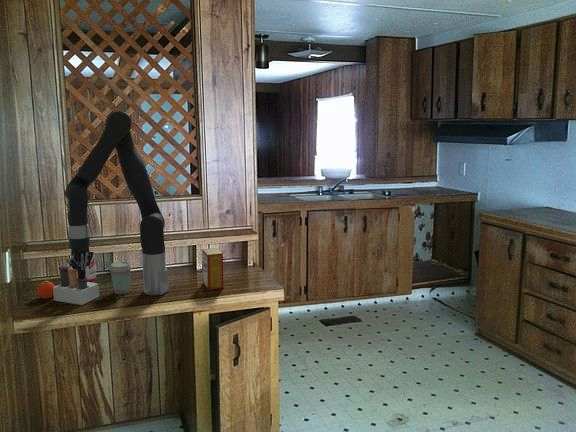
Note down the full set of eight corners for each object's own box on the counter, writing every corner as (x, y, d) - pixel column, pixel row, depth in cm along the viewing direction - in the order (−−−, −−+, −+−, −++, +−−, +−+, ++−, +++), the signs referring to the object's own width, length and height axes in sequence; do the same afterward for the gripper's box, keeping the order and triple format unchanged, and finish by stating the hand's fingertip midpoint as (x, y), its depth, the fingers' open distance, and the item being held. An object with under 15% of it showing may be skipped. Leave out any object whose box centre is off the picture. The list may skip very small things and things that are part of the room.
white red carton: (98, 279, 233) (96, 245, 229) (92, 284, 227) (89, 248, 223) (85, 279, 233) (82, 244, 230) (78, 284, 227) (75, 248, 224)
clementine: (40, 294, 214) (38, 278, 212) (58, 293, 215) (57, 277, 214) (35, 302, 206) (34, 284, 205) (54, 300, 208) (53, 283, 206)
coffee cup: (132, 294, 216) (131, 266, 213) (110, 296, 213) (109, 267, 211) (132, 287, 224) (131, 260, 221) (111, 289, 221) (109, 261, 219)
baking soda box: (202, 283, 230) (202, 248, 226) (217, 281, 232) (216, 247, 229) (208, 290, 221) (207, 254, 218) (223, 288, 224) (222, 252, 220)
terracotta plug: (81, 286, 210) (80, 267, 208) (74, 289, 206) (73, 270, 204) (73, 285, 211) (72, 266, 209) (66, 288, 207) (65, 269, 206)
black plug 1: (72, 285, 211) (71, 266, 209) (65, 288, 207) (64, 269, 206) (65, 283, 212) (63, 265, 211) (58, 286, 209) (56, 268, 207)
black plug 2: (90, 296, 209) (89, 277, 207) (84, 299, 205) (82, 280, 204) (83, 294, 210) (81, 276, 209) (76, 298, 207) (74, 279, 205)
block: (99, 296, 213) (98, 283, 212) (82, 305, 204) (81, 291, 202) (72, 292, 217) (71, 279, 216) (54, 300, 208) (52, 287, 207)
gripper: (74, 240, 195) (77, 284, 199) (98, 232, 208) (101, 274, 211) (58, 238, 198) (62, 282, 201) (83, 231, 210) (85, 272, 214)
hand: (82, 278), depth 206 cm, fingers closed
